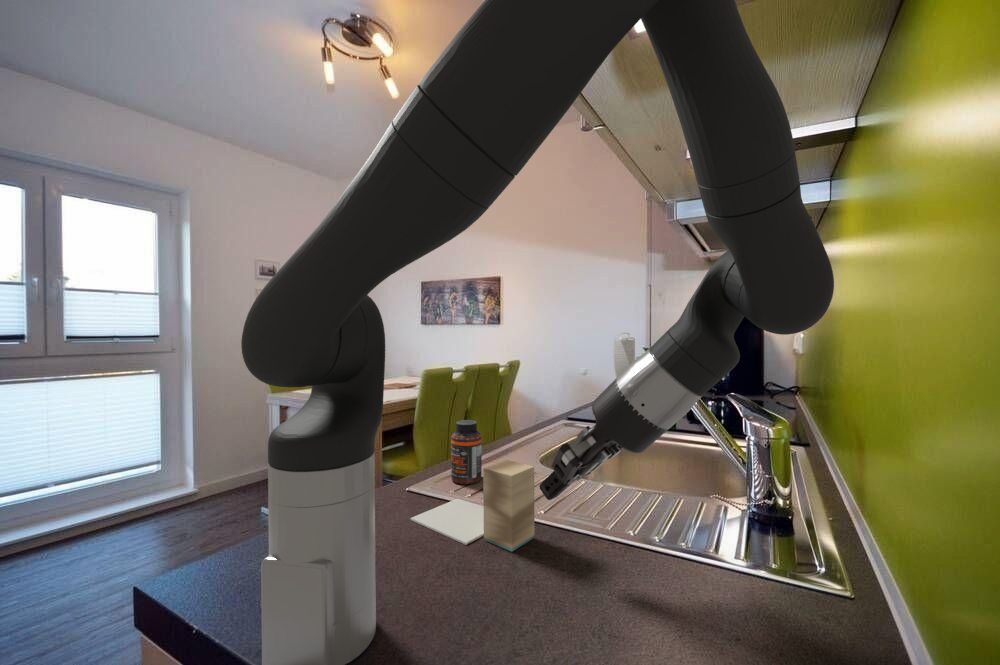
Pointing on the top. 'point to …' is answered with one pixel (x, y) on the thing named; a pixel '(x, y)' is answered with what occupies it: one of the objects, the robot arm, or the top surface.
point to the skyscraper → (623, 353)
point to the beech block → (508, 504)
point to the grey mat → (455, 520)
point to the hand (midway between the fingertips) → (546, 492)
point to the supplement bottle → (466, 453)
